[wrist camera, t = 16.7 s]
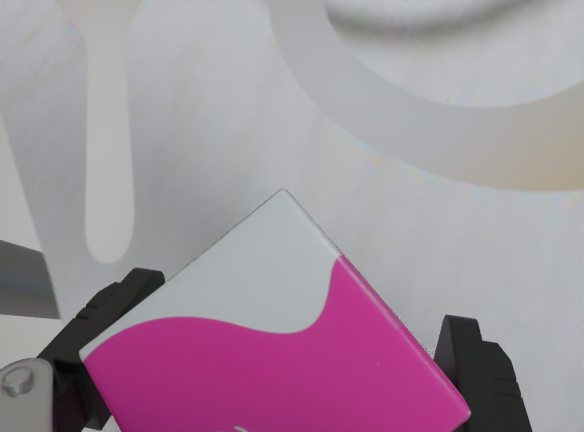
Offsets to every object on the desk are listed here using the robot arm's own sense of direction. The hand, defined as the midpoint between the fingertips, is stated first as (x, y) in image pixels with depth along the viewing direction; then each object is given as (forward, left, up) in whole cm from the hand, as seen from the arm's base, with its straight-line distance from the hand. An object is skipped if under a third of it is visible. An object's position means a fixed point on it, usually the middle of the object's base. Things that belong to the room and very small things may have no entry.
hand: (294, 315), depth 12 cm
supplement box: (-1, -1, -8) cm, 8 cm away
